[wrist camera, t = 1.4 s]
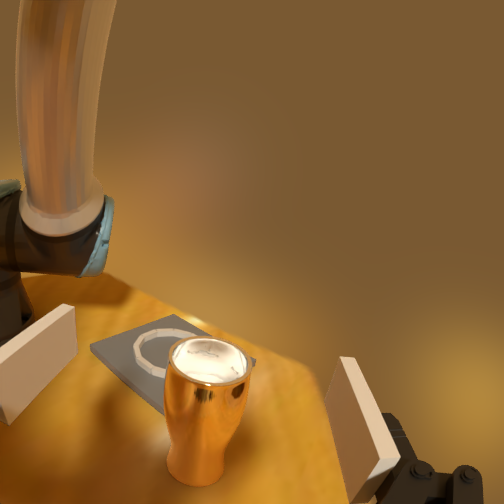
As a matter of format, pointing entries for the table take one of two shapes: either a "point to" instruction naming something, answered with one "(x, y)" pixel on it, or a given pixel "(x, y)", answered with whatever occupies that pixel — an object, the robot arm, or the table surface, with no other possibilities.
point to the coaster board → (145, 355)
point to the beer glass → (203, 405)
